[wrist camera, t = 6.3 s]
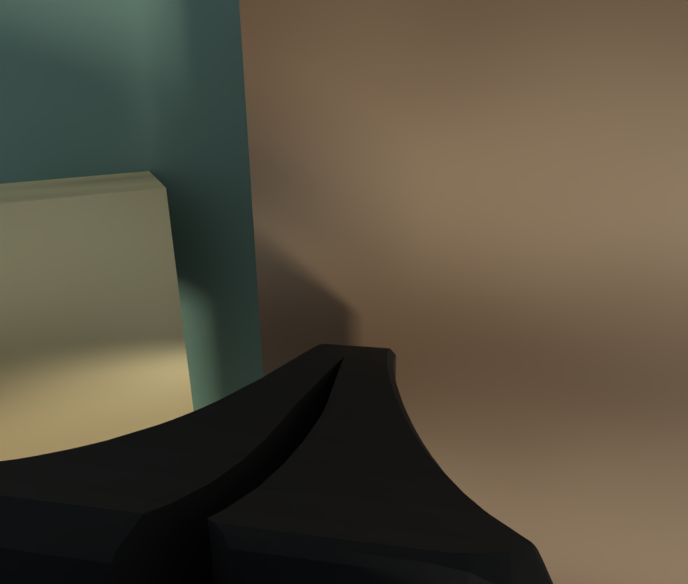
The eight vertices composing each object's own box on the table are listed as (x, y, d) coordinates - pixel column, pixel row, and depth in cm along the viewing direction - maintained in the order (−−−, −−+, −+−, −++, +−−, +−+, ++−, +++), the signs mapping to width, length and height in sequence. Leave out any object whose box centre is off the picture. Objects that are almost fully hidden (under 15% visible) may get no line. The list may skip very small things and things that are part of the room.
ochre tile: (-46, 560, 13) (-31, 489, 15) (203, 492, 15) (184, 438, 17) (-146, 217, 10) (-112, 193, 13) (166, 187, 12) (149, 170, 14)
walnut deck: (886, 621, 15) (979, 747, 12) (310, 546, 18) (279, 636, 15) (1122, -42, 10) (1359, -81, 8) (288, -10, 13) (236, -29, 10)
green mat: (295, 572, 18) (291, 583, 18) (-55, 524, 20) (-65, 533, 20) (262, -64, 13) (256, -67, 12) (-210, -38, 15) (-227, -40, 14)
